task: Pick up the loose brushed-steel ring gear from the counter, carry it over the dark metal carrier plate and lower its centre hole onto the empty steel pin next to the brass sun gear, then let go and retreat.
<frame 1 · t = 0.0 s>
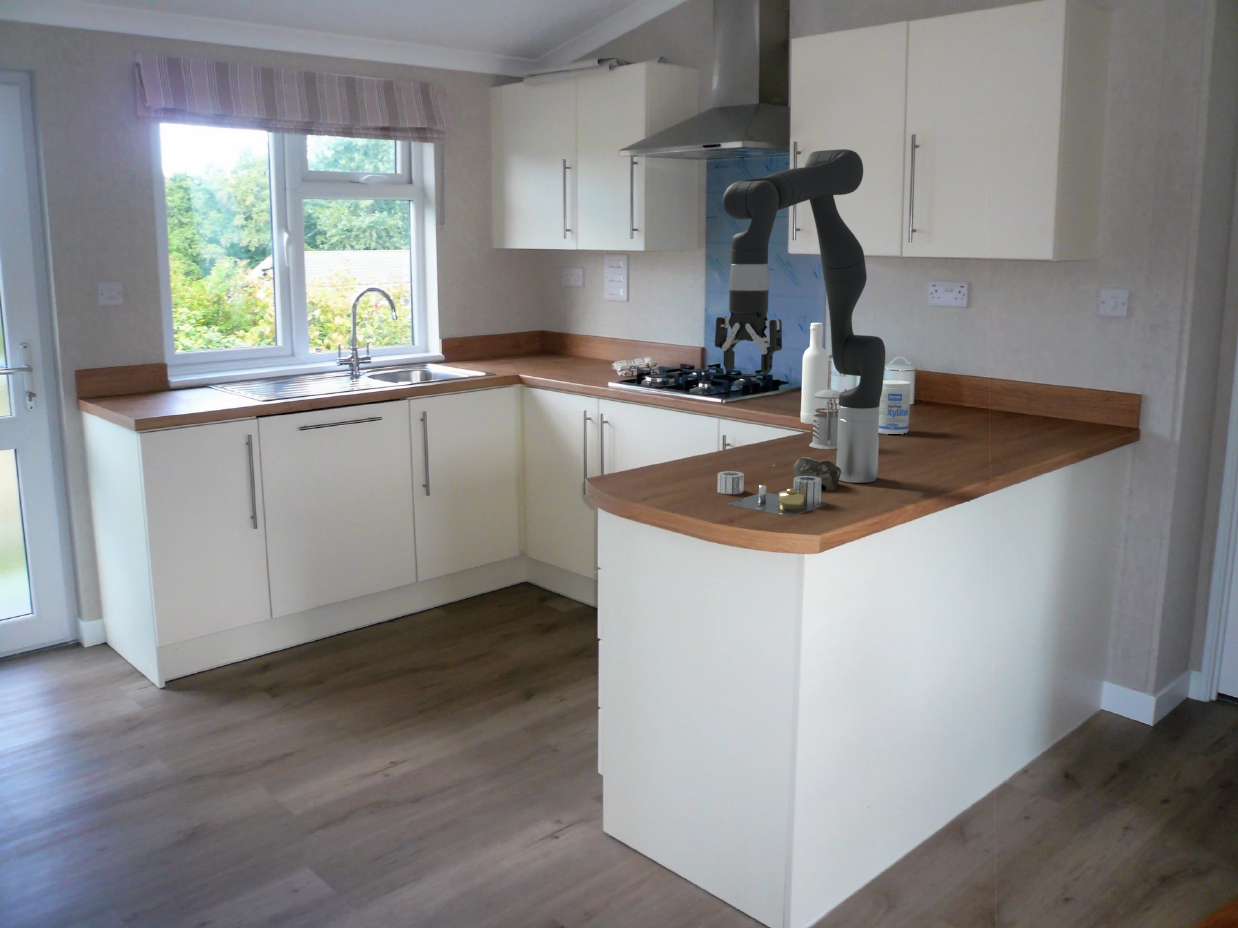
hand: (747, 371, 211), 29 cm above the table, tool pointing down, fingers open, 8 cm apart
french press: (827, 447, 290), on the table
bottle: (813, 423, 328), on the table
supplement tub: (891, 433, 310), on the table
planet gear: (730, 496, 234), on the table
seated gear: (806, 502, 223), resting on carrier
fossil: (815, 492, 239), on the table
carrier: (777, 509, 223), on the table
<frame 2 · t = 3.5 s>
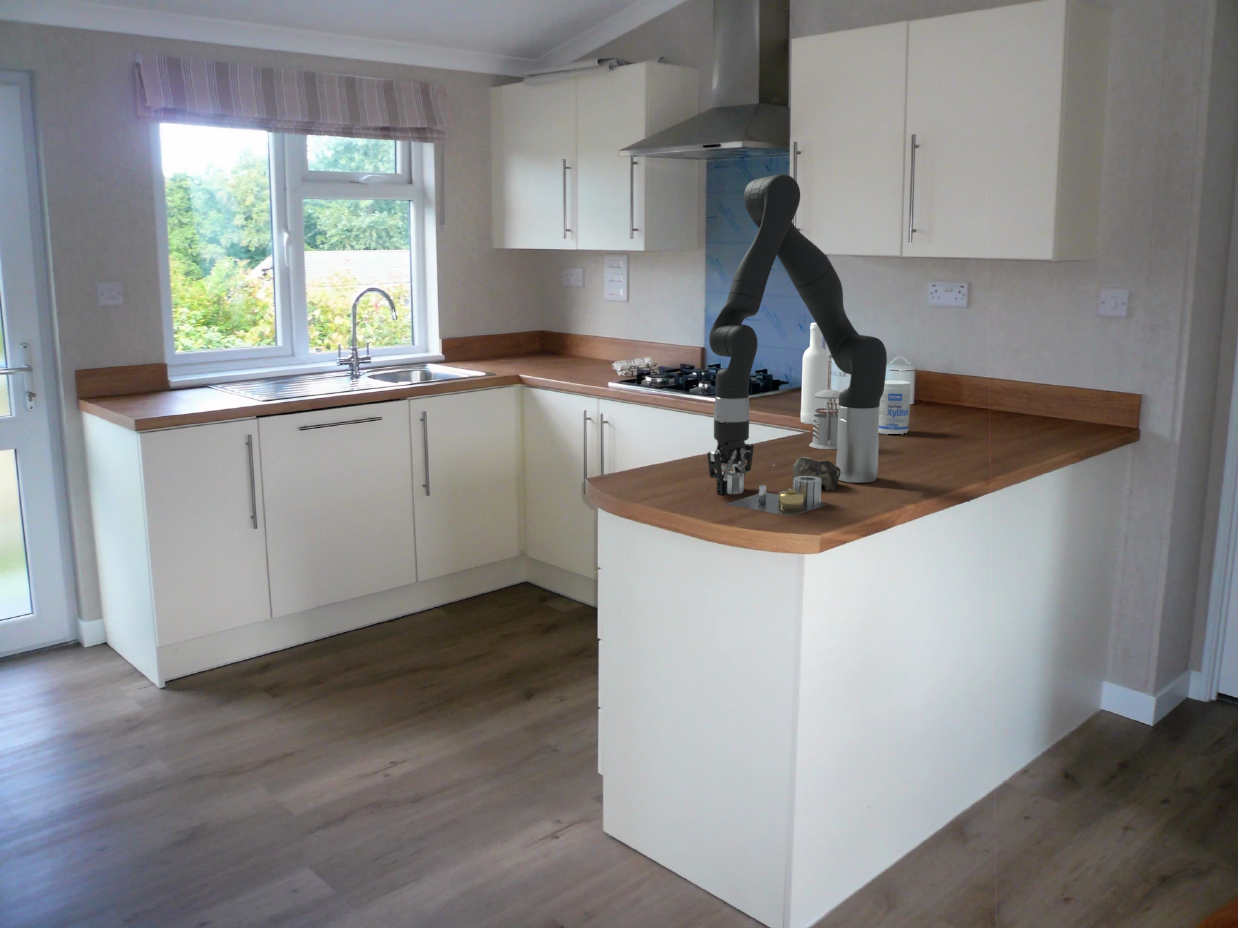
hand: (730, 494, 234), 1 cm above the table, tool pointing down, fingers closed on planet gear, 5 cm apart
planet gear: (730, 496, 234), on the table, touching gripper
everything else where it was.
when the fingers open (2 cm above the table, at t = 8.6 s): planet gear stays where it is, resting on carrier.
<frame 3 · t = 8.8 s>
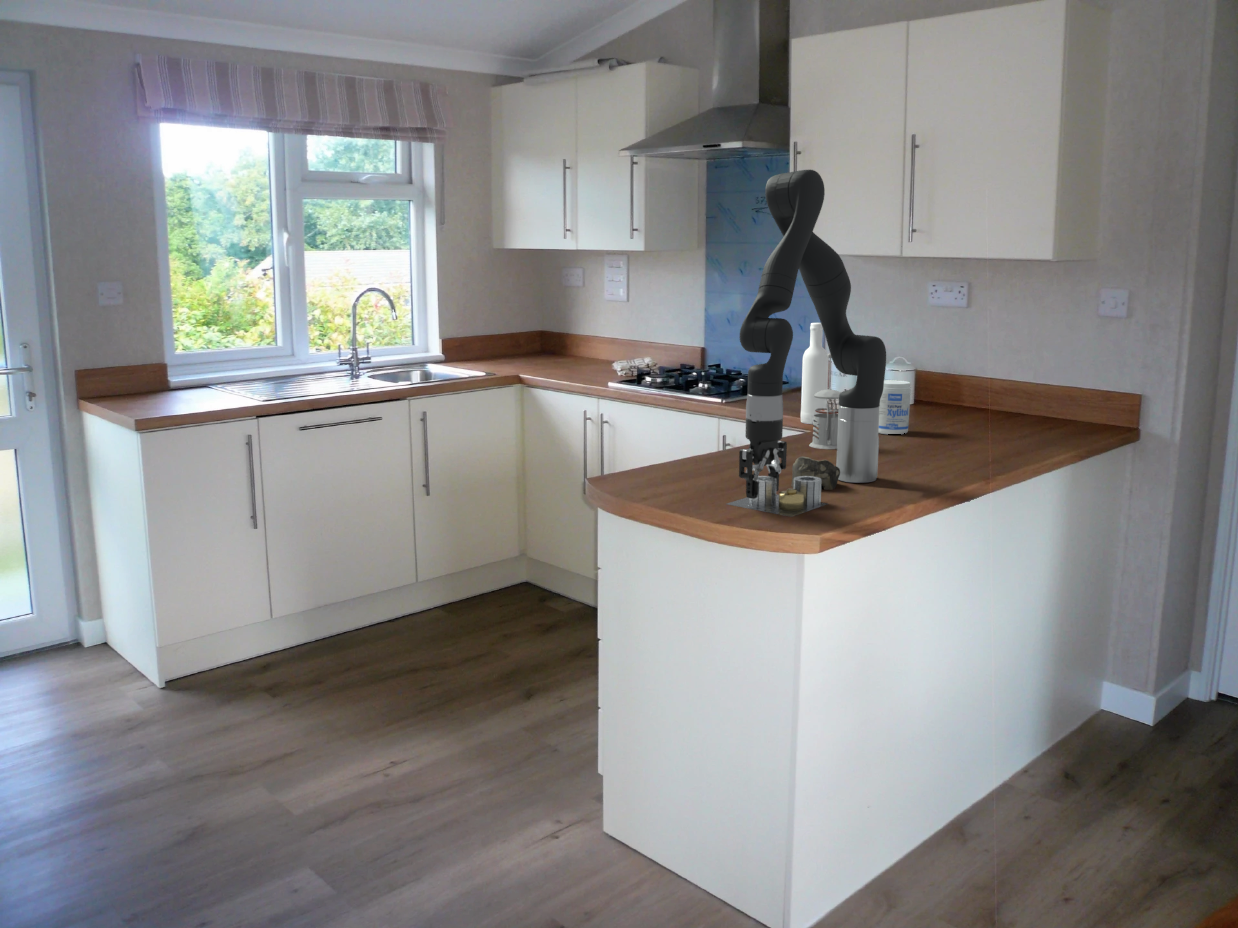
hand: (762, 494, 223), 3 cm above the table, tool pointing down, fingers open, 7 cm apart
planet gear: (762, 502, 224), point 1 cm above the table, touching carrier
everything else where it was.
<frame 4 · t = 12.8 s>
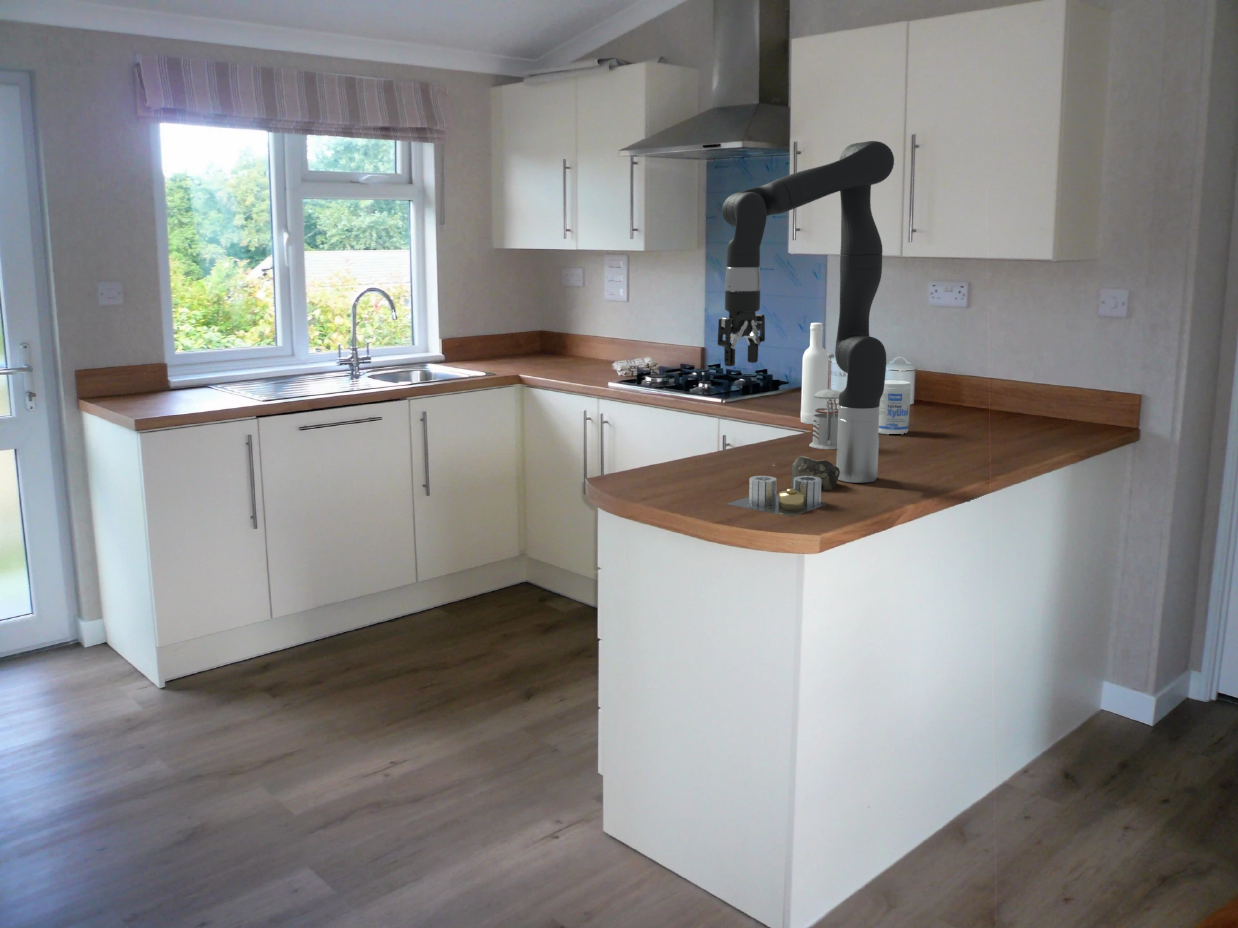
hand: (741, 364, 234), 28 cm above the table, tool pointing down, fingers open, 8 cm apart
nothing on the table moved.
at the end: planet gear 0.1 cm from the target spot, point 1.2 cm above the table; the gripper is holding nothing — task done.
